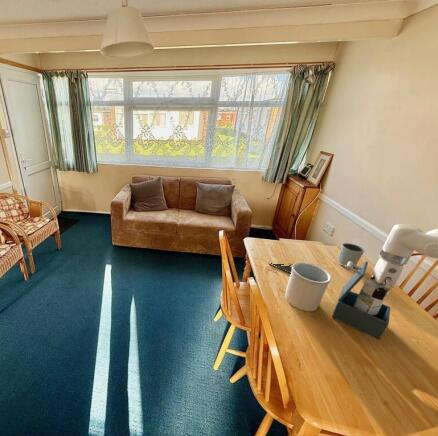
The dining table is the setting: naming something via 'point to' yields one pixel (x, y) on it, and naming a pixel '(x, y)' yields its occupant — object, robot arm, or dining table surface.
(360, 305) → the syrup box
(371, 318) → the chest
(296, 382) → the dining table surface
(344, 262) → the grey-green pot
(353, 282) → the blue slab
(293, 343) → the dining table surface
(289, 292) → the utensil holder
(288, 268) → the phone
